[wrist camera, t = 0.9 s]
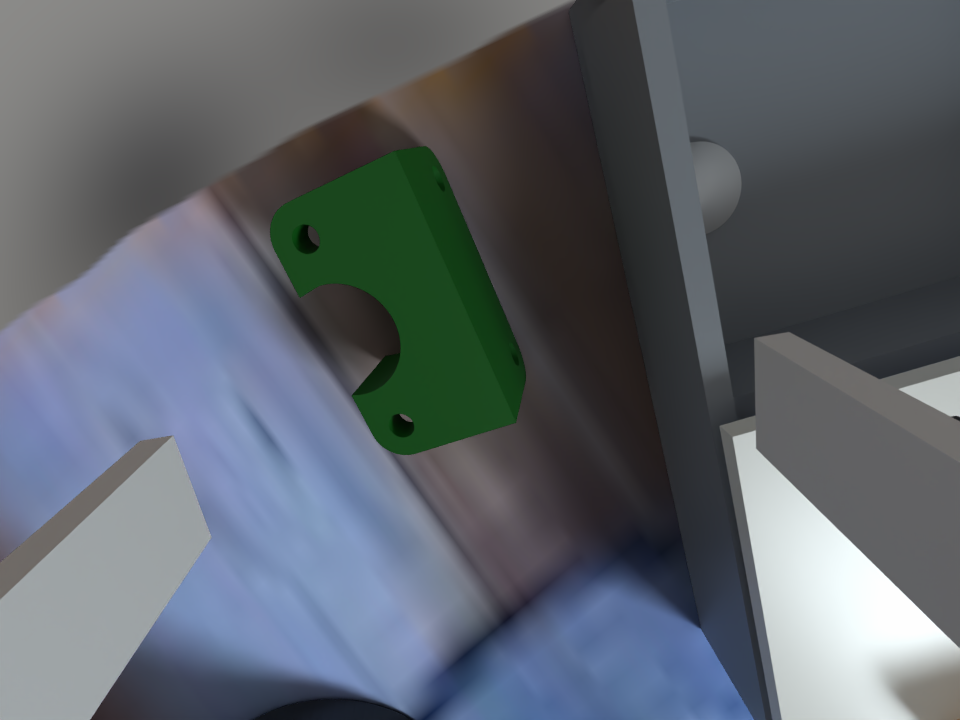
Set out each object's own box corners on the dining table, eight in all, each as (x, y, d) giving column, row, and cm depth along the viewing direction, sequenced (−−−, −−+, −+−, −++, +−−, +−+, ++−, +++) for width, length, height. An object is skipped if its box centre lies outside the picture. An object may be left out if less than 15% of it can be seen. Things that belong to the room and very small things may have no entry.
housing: (701, 629, 34) (770, 747, 27) (568, 11, 25) (621, -62, 17) (1072, 524, 34) (1244, 616, 26) (1082, -147, 24) (1353, -288, 17)
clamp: (363, 227, 31) (244, 174, 22) (465, 181, 29) (380, 104, 20) (429, 447, 30) (331, 482, 21) (540, 413, 28) (482, 435, 19)
